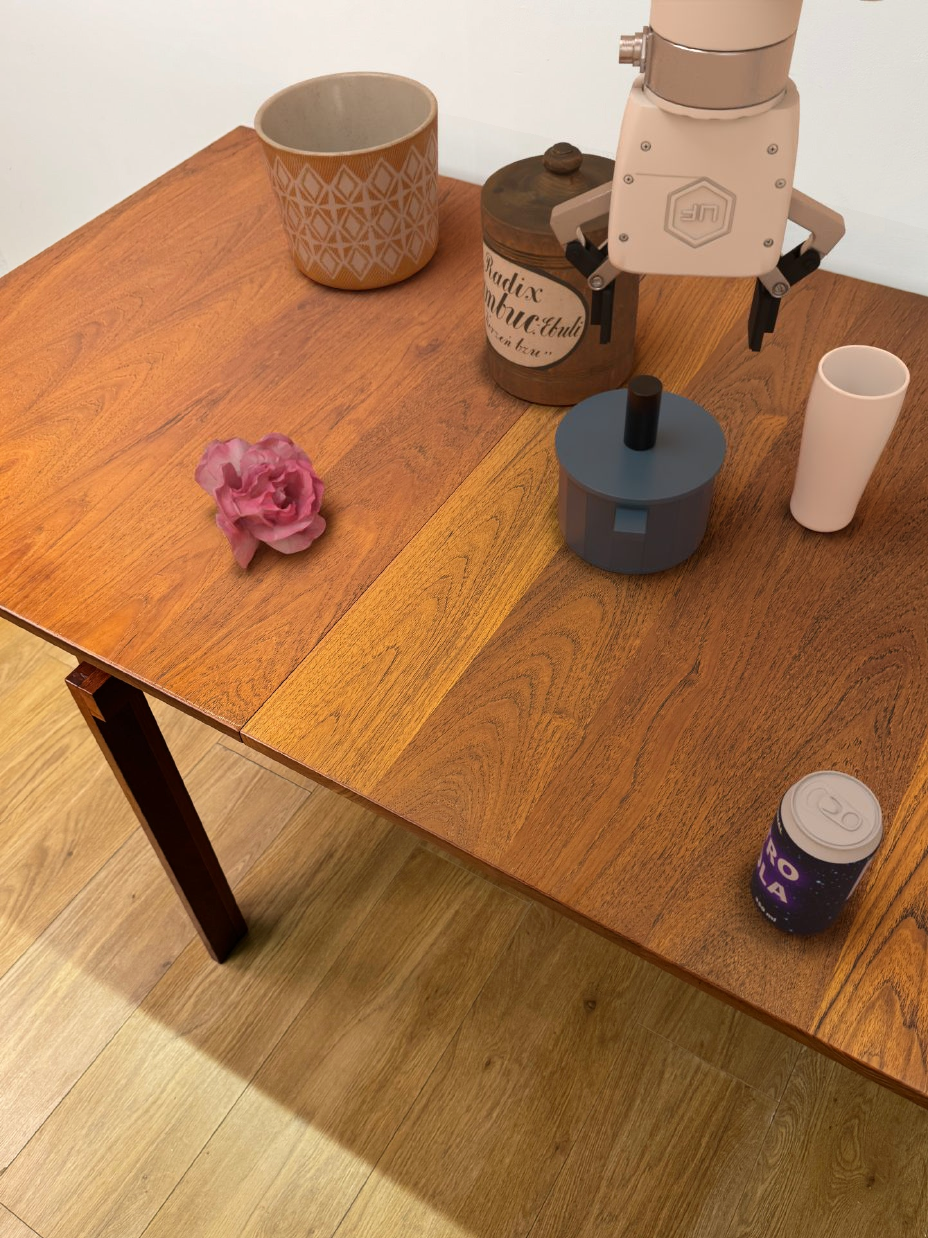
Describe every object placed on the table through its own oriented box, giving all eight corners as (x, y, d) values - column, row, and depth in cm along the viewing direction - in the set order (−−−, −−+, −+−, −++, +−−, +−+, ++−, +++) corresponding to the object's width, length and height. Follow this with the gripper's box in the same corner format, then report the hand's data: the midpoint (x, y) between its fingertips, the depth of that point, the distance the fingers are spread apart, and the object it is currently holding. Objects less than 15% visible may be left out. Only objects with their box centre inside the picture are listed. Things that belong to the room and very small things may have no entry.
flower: (345, 540, 92) (349, 518, 82) (245, 585, 90) (237, 568, 80) (291, 429, 92) (289, 394, 82) (191, 472, 90) (176, 442, 81)
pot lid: (725, 405, 84) (738, 337, 79) (722, 518, 76) (735, 451, 70) (565, 393, 86) (566, 326, 81) (544, 502, 78) (544, 436, 73)
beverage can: (781, 841, 67) (820, 746, 58) (856, 897, 64) (909, 807, 55) (730, 899, 65) (762, 809, 56) (806, 959, 62) (853, 876, 53)
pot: (708, 458, 92) (721, 382, 85) (701, 606, 80) (715, 533, 74) (571, 447, 94) (573, 372, 87) (545, 590, 82) (546, 517, 76)
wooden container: (457, 361, 103) (442, 148, 86) (560, 302, 109) (565, 92, 92) (558, 428, 95) (563, 209, 78) (663, 361, 101) (689, 143, 84)
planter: (446, 297, 110) (434, 148, 98) (274, 304, 111) (240, 158, 99) (449, 208, 123) (439, 65, 110) (294, 215, 124) (267, 75, 111)
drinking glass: (869, 540, 84) (922, 397, 72) (788, 542, 84) (828, 400, 73) (850, 485, 88) (898, 341, 77) (773, 487, 89) (808, 345, 77)
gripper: (547, 89, 51) (542, 363, 65) (896, 94, 49) (818, 378, 62) (560, 30, 56) (553, 297, 69) (880, 32, 54) (810, 308, 67)
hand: (678, 335), depth 66 cm, fingers open, 9 cm apart
